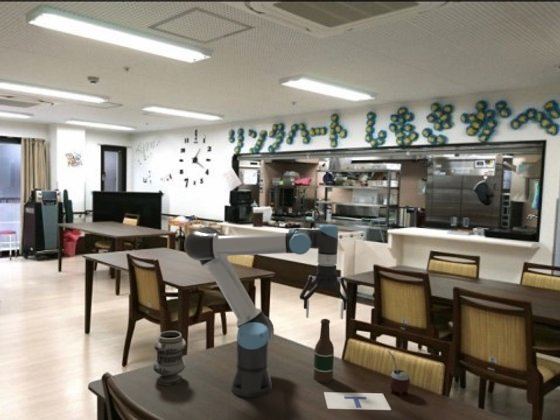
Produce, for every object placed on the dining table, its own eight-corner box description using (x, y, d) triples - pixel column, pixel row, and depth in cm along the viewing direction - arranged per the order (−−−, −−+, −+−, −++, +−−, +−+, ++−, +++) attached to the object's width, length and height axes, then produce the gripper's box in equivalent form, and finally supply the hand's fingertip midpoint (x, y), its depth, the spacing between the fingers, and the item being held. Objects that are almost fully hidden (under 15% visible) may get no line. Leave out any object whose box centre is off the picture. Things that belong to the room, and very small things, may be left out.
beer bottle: (320, 373, 186) (322, 315, 184) (336, 378, 181) (339, 319, 179) (309, 379, 180) (311, 319, 178) (325, 385, 175) (328, 324, 173)
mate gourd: (411, 398, 167) (413, 358, 166) (389, 397, 167) (391, 357, 166) (405, 388, 174) (407, 350, 173) (385, 388, 174) (387, 349, 173)
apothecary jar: (161, 389, 167) (162, 341, 166) (148, 378, 176) (148, 332, 175) (190, 381, 175) (191, 335, 174) (176, 370, 184) (177, 327, 183)
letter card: (327, 409, 157) (327, 408, 157) (323, 392, 169) (323, 392, 169) (391, 410, 157) (391, 409, 157) (382, 394, 169) (382, 393, 169)
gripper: (295, 264, 174) (293, 319, 175) (360, 267, 174) (357, 321, 176) (294, 261, 181) (292, 313, 183) (356, 263, 182) (354, 315, 183)
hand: (324, 317), depth 179 cm, fingers open, 13 cm apart
